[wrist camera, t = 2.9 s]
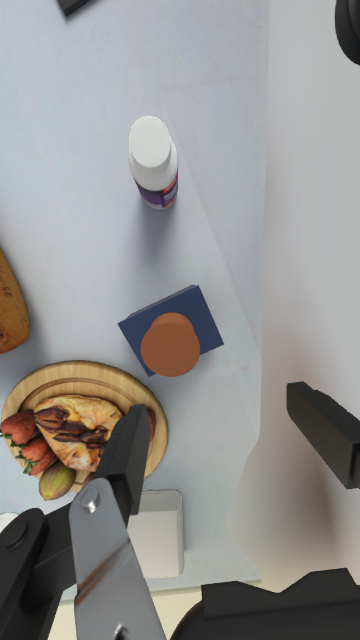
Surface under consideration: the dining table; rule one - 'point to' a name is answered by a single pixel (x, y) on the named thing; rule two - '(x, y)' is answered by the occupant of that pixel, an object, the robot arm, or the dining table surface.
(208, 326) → the navy box
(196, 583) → the dining table surface
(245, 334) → the dining table surface
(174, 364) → the orange cylinder
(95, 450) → the wooden plate
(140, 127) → the pill bottle
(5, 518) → the cup
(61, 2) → the mat
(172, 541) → the grey flat block
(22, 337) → the inscribed clay slab
